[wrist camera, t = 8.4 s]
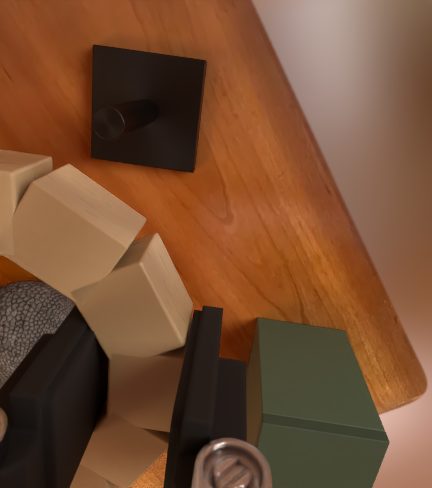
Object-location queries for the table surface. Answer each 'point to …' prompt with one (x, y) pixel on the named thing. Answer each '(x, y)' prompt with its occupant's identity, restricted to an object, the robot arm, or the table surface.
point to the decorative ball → (27, 320)
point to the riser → (311, 408)
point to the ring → (104, 303)
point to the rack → (146, 108)
